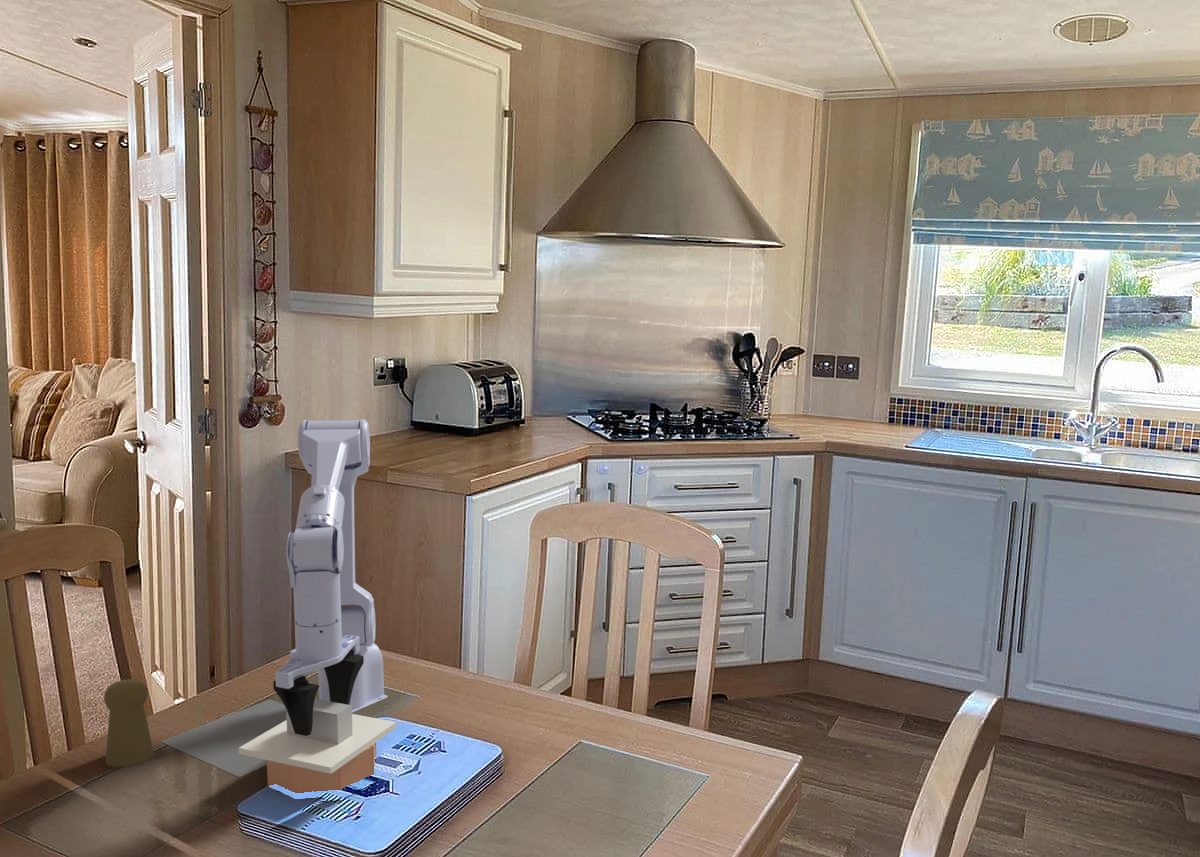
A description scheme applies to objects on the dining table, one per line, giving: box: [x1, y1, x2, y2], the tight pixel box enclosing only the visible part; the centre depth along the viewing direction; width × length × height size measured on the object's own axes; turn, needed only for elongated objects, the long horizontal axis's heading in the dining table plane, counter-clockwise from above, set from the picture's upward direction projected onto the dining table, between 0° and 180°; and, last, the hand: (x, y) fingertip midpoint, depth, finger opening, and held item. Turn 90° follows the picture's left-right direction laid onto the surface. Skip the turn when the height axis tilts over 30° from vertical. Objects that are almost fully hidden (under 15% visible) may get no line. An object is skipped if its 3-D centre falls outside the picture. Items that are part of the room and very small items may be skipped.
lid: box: [239, 698, 397, 774], centre depth 129 cm, size 14×14×5 cm
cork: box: [103, 678, 155, 768], centre depth 133 cm, size 6×6×11 cm
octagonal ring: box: [266, 742, 377, 793], centre depth 129 cm, size 13×13×5 cm
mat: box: [160, 699, 287, 778], centre depth 141 cm, size 18×18×1 cm
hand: (321, 721), depth 129 cm, fingers open, 7 cm apart
